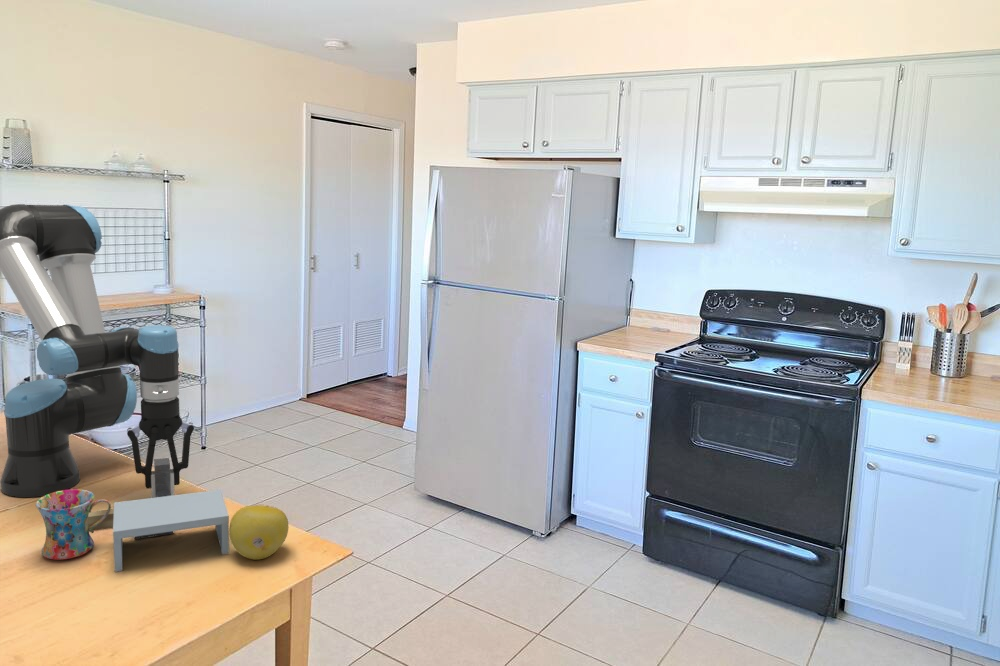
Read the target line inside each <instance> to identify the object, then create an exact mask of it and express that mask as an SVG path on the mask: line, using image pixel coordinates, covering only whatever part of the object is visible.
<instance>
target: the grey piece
mask: <svg viewBox="0 0 1000 666" xmlns="http://www.w3.org/2000/svg"><path fill="white" fill-rule="evenodd" d="M170 463H171V462H170V458H169V457H166V458H164V457H163V458H155V459H154V458H153V469H154V470H153V471H155V493H156V497H164V496H171V484H170V469H171V464H170ZM174 533H175V531H171V532H164V533H157V534H150V535H143V536H136V537H134V540H137V539H138V540H139V539H145V538H146V539H147V538H152V537H159V536H165V535H167V536H168V535H173V534H174Z"/></svg>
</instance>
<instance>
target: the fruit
mask: <svg viewBox="0 0 1000 666" xmlns="http://www.w3.org/2000/svg"><path fill="white" fill-rule="evenodd" d="M288 533H289V521H288V518H287V515H286V514H285V512H284V511H283V510H281V509H279V508H278V507H276V506H274V505H267V504H266V505H265V504H262V503H261V504H254V505H247V506H244V507H241V508H240V509H239V510H236V512H235V513H234V514H233V516H232V517H231V519H230V520H229V540H230V542H231V545H232V546H233V548H234V550H235V551H236V552H237V553H239V555H241V556H242V557H244V558H247V559H250V560H254V561H256V560H263V559H266V558H269V557H270V556H272V555H273V554H275V553H276V552H277V551H278V550H279V549H280V548H281V546H282V545H283V544H284V542H285V541H286V539H287V537H288Z"/></svg>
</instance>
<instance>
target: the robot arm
mask: <svg viewBox="0 0 1000 666" xmlns="http://www.w3.org/2000/svg"><path fill="white" fill-rule="evenodd" d="M99 224H100V223H99V222H98V219H97V218H96V216H95V215H94V214H93V212H92V211H89V210H88V209H87V208H85V207H83V206H81V205H80V206H79V205H78V206H77V205H70V204H62V205H59V204H25V203H24V204H23V203H19V204H18V203H17V204H10V205H7V206H5V207H2V208H0V271H1V274H2V275H3V277H4V278H5V280H6V282H7V284H8V285H9V286H10V289H11V290H12V293H13V294H14V295H15V297H16V300H18V302H19V304H20V306H21V309H22V310H23V311H24V313H25V314H26V316H27V318H28V320H29V322H30V323H31V325H32V326H33V328H34V330H35V332H36V333H37V335H38V337H39V338H40V342H39V343H38V345H37V347H36V358H37V361H38V366H39V368H40V370H41V371H42V372H43V373H44V374H46V375H49V376H62V375H63V376H64V375H66V376H65V380H63V379H60V378H47V379H43V378H42V379H41V378H40V379H36V380H31V381H27V382H23V383H22V384H18V385H16V386H14V387H13V388H11V389H10V390H9V391H8V392H7V393H6V394H5V397H4V410H3V411H4V412H3V414H4V417H5V418H4V419H5V427H6V429H5V430H6V443H7V459H6V462H5V465H4V469H3V472H2V475H1V477H0V491H1V492H2V493H3V494H4V493H5V494H4V495H6V494H7V496H10V497H14V496H15V497H14V498H36V497H43V496H45V495H48V494H50V493H53V492H57V491H62V490H70V488H71V489H72V488H73V487H75V486H76V485H77V484H78V483H79V482H80V480H81V479H80V477H81V476H80V468H79V466H78V464H77V461H76V460H75V457H74V455H73V454H72V451H71V449H70V440H69V439H70V435H73V434H78V433H82V432H83V433H84V432H86V431H87V432H88V431H93V430H97V429H103V428H106V427H112V426H115V425H118V424H121V423H125V422H127V421H129V420H130V418H131V417H132V416H133V414H134V412H135V410H136V407H137V401H138V394H137V393H138V391H137V386H136V383H135V381H134V380H133V378H132V377H131V376H130V375H129V374H126V373H122V369H121V366H126V365H133V366H136V367H139V388H140V389H139V390H140V398H142V399H141V401H140V420H139V422H138V425H136V426H134V427H128V428H127V429H126V430H127V431H126V433H127V438H129V440H130V442H131V445H132V446H131V447H132V454H133V455H132V456H133V463H134V470H135V473H136V474H142V475H144V482H145V483H144V484H145V489H146V490H148V489H151V491H150V492H151V494H150V495H151V498H156V493H155V471H154V470H152V469H153V465H154V456H155V450H156V444H157V442H158V441H161V440H162V441H163V440H165V441H167V445H168V450H169V455H170V459H171V464H172V468H170V484H171V496H172V495H175V486H179V485H180V482H181V481H180V472H181V470H184V469H188V468H189V461H190V460H189V459H190V449H191V448H190V447H191V446H190V445H191V437H192V434H193V433H194V430H195V426H194V423H193V422H186V421H183V420H182V417H181V416H180V414H181V413H180V397H178V396H179V395H180V384H179V381H180V380H179V347H180V346H179V342H178V332H177V329H176V328H175V327H173V326H170V325H162V324H161V325H160V324H159V325H157V324H155V325H146V326H142V327H140V329H138V328H134V327H130V326H129V327H127V326H120V327H119V326H118V327H116V328H114V329H112V330H111V331H107V332H106V329H105V326H104V319H103V316H102V312H101V308H100V307H101V306H100V302H99V299H98V294H97V289H96V284H95V280H94V276H93V271H92V268H91V267H92V266H91V265H92V263H93V262H94V261H95V260H96V253H98V252H100V251H99V250H100V249H101V247H102V244H103V243H102V239H103V235H102V231H101V226H100V225H99ZM46 269H47V270H48V271H49V273H48V271H47V270H46ZM65 381H66V382H65ZM180 428H181V429H182V433H183V439H182V440H183V441H182V452H181V461H180V462H179V460H178V455H177V454H178V453H177V450H176V444H175V441H174V436H176V433H177V432H178V431H179V429H180ZM140 432H143V434H144V435H145V436H147V438H148V445H147V450H146V458H145V465H142V460H141V452H140V446H139V439H138V438H139V437H140V435H141V434H140Z"/></svg>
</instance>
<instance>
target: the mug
mask: <svg viewBox="0 0 1000 666" xmlns="http://www.w3.org/2000/svg"><path fill="white" fill-rule="evenodd" d="M94 499H95V494H94V492H92V491H90V490H87V489H80V488H79V489H78V488H75V489H74V488H71V489H70V488H69V489H67V490H62V491H57V492H53V493H50V494H48V495H44V496H40V498H38V500H36V502H35V506H36V508H37V510H38V511H39V512H40V514H41V517H42V519H43V522H44V525H45V533H46V534H45V541H44V543H43V547H42V549H41V555H42V556H43V557H44V558H46V559H48V560H49V559H50V560H55V561H57V560H58V561H59V560H69V559H75V558H78V557H80V556H83V555H84V554H86V553H88V552H89V551H90V550H92V548H93V547H94V545H95V541H94V539H93V538H92V537H91V534H94V533H95V532H94V531H95V530H91V529H92V528H94V527H95V526H97V525H98V524H100V523H101V522H102V521H103V520H104V519H105V518H106V516H107V515H108V513H109V511H110V509H112V508H111V507H112V506H111V502H110V501H109V500H108V499H104V498H103V499H97V500H95V501H94ZM99 503H106V504H107V506H108V508H107V509H106V510H107V512H106V513H105V515H104V516H103V517H102V518H101V519H100V520H99V521H98V522H96V523H95V524H93V525H92V526H90V527H89V530H88V514H89V513H90V512H92V509H93V507H94V506H95V505H97V504H99ZM90 533H91V534H90Z"/></svg>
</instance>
